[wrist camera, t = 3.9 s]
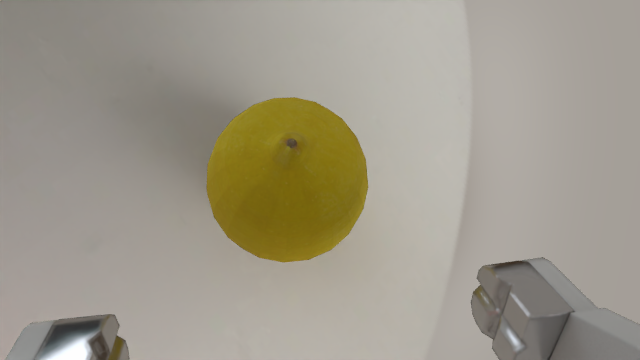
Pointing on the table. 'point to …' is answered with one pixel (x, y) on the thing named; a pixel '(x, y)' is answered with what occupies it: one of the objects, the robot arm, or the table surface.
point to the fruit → (287, 179)
